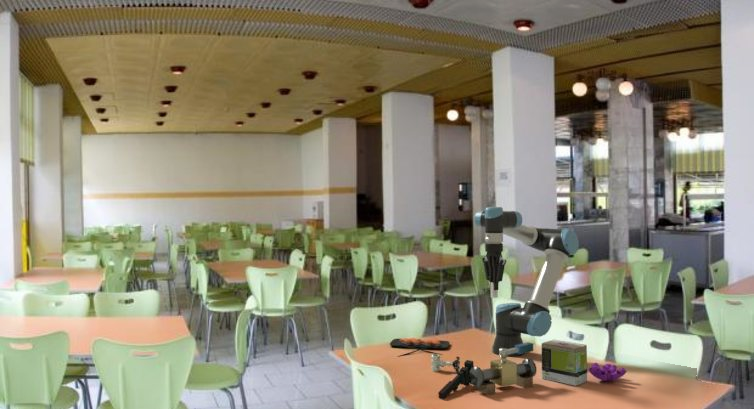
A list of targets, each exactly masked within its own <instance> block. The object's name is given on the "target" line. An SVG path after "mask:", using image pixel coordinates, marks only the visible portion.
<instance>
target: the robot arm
mask: <svg viewBox="0 0 754 409" xmlns="http://www.w3.org/2000/svg"><path fill="white" fill-rule="evenodd" d="M474 224H475V225H476V226H477V227H479V228H484V241H485V244H484V250H485V252H486V253H485V256H484V257H482V258H481V260H482V262H483V267H484V273H485V279H486V280H487V281H489V289H490V298H492V299H493V298H494V299H495V298H499V297H498V296H499V295H498V292H499V291H498V290H499V283H500V282H502V281H503V277H504V271H505V267H506V266H505V265H506V264H507V259H504V258H503V254H502V252H504V244H503V242H504V235H505V236H507V237H510V238H513V239H515V240H517V241H520V242H522V244H523V245H525V246H527V247H529V248H531V249H535V250H538V251H540V252H544V254H545V258H544V261H543V263H542V266H541V269H540V272H539V274H538V277H537V280H536V283H535V285H534V288H533V291H532V293H531V296H530V298H529V300H528V301H525V302H524V305H523V307H522V305H521V303H519V302H510V303H509V302H508V303H501V304H497V305H496V307H495V337H494V341H493V344H492V348H491V350H492V351H491V352H492V353H493V354H496V355H499V349H500V348H506V349H510V348H515V345H518V344H523V343H524V342H523V338H522V334H523V335H529V336H530V337H542V336H546V335H547V334H548V333H549V331H550V329H551V327H552V315H551V314H550V312H551V311H550V309H549V305H550V302H551V300H552V297H553V294H554V291H555V289H556V285H557V283H558V279H559V277H560V274H561V271H562V269H563V266H564V264H565V262H567V261H569V259H570V256H571V255H575V254H576V253H578V251H579V244H580V243H579V238H578V234H577V233H576V232H575V231H573V230H572V229H567V228H547V227H545V228H543V227H541V228H539V227H534V226H532V225H531V226H527V225H525V224H523V215H522V213H520V212H519V211H516V210H505V211H504V210H503V207H502V206H487V207H486V208H485V210H479V211H477V212H475V214H474ZM524 354H525V353H523V354H517V353H513V354H509V355H507V357H517V356H522V355H524Z"/></svg>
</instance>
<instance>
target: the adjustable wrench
mask: <svg viewBox="0 0 754 409" xmlns="http://www.w3.org/2000/svg"><path fill="white" fill-rule="evenodd" d="M463 365H464V366H462V367H460V369H459V371H458V372H456V373H457V374H456V376H455V377H454V378H452V380H449V381H448V382H447V383H446V384H445V385H444V386H443V387H442V388H441V389H440V390H439V391H438V393H437V394H438V399H442V400H445V399H447V397H448V396H449V395H450V394H451V393H452V392H455V391H457V390H458V388H459V386H460V385H466V386H470V384H472V382H471V380H470V370H471V368H473V367H475V365H474V361H473V360H469V359H466V360H465V361H464V362H463Z"/></svg>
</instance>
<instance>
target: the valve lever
mask: <svg viewBox="0 0 754 409" xmlns="http://www.w3.org/2000/svg"><path fill="white" fill-rule="evenodd" d="M531 352H534V343H532V342H523V344H518V345H515V348H510V349H506V348H500V349H499V354H498V356H499V357H500V359H501V358H506V359H507V358H508V356H507V355H509V354H513V353H517V354H523V353H524V354H527V353H531ZM524 354H523V355H524Z"/></svg>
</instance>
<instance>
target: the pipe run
mask: <svg viewBox="0 0 754 409" xmlns="http://www.w3.org/2000/svg"><path fill="white" fill-rule="evenodd" d="M536 375H537V365H536V363H535V362H534V360H533V359H531V358H525V359H523V360H522V362H521V363H517V362H516V361H515V362H514V361H512V360H510V359H507V358H501V357H500V359H493V360H490V368H485V369H484V368H483V369H481V367H479V366H474V367H473V368H471V370H470V380H471V382H472V383H471V384H472V385H473V390H474V391H477V392H479V393H481V394H484V395H486V396H488V395H489V396H490V395H495V394H496V385H498V386H500V387H506V386H512V385H516V386H519V387H521V388H524V389H528V388H532V387H533V386H534V384H533V383H534V380H533V378H534V377H535V376H536Z"/></svg>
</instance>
